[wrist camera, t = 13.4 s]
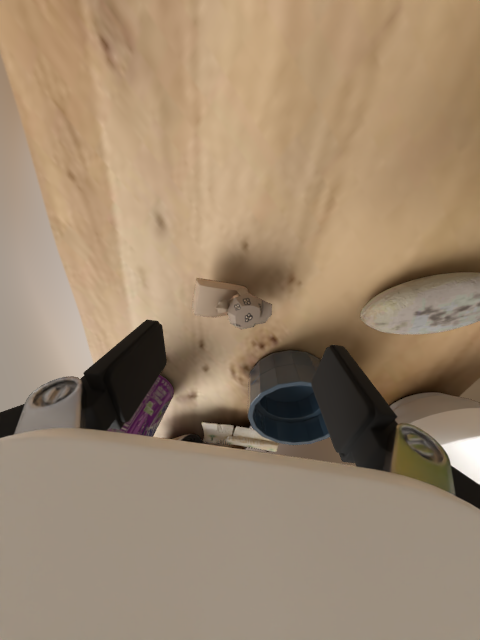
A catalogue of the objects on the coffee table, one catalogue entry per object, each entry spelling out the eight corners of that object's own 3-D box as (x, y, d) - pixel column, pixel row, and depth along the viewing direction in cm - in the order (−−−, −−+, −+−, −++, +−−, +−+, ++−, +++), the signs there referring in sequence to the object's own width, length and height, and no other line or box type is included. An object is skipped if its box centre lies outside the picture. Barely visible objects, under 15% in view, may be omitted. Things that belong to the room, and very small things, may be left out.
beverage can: (157, 404, 30) (106, 496, 20) (124, 380, 28) (46, 469, 17) (184, 388, 28) (142, 483, 17) (150, 361, 26) (79, 450, 15)
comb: (202, 412, 29) (205, 434, 36) (197, 428, 27) (202, 447, 34) (287, 425, 29) (275, 444, 35) (288, 442, 27) (276, 459, 33)
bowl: (474, 445, 29) (548, 515, 22) (352, 452, 33) (380, 514, 26) (517, 357, 21) (655, 422, 14) (351, 381, 25) (390, 441, 18)
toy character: (250, 310, 23) (270, 336, 19) (190, 304, 20) (196, 334, 15) (259, 282, 21) (284, 302, 17) (195, 270, 18) (204, 292, 13)
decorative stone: (497, 309, 19) (544, 323, 16) (349, 333, 22) (366, 350, 18) (522, 253, 16) (583, 257, 13) (351, 288, 19) (371, 297, 16)
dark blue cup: (255, 343, 23) (256, 375, 18) (339, 354, 23) (366, 390, 18) (244, 400, 28) (242, 438, 23) (313, 409, 28) (327, 449, 23)
